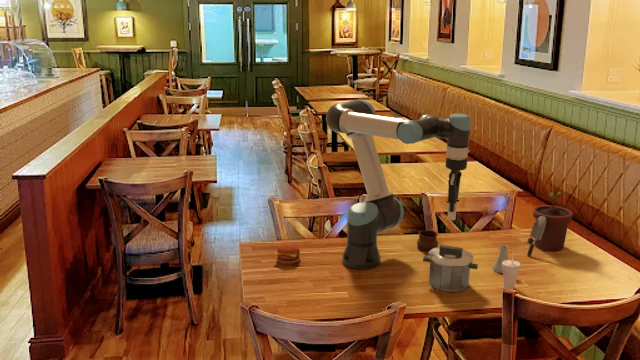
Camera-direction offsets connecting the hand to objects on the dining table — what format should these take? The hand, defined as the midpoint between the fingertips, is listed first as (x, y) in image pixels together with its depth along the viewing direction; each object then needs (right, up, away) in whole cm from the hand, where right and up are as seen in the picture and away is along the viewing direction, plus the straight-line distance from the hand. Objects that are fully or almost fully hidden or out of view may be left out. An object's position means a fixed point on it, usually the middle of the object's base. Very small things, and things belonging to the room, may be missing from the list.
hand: (451, 218), depth 230 cm
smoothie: (+20, -25, -3) cm, 32 cm away
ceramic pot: (-3, -15, +33) cm, 36 cm away
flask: (+22, -21, +12) cm, 33 cm away
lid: (-1, -14, -3) cm, 14 cm away
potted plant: (+46, -14, +34) cm, 59 cm away
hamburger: (-61, -18, +20) cm, 67 cm away
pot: (-1, -24, 0) cm, 24 cm away
